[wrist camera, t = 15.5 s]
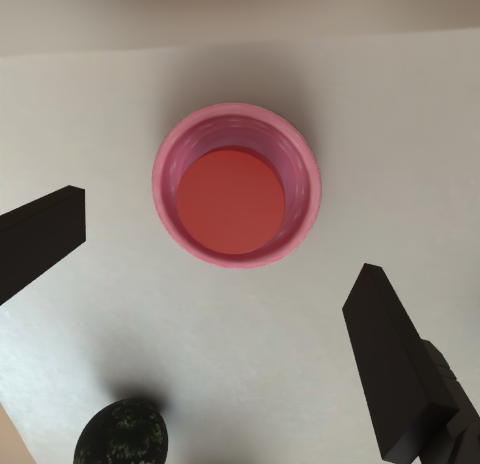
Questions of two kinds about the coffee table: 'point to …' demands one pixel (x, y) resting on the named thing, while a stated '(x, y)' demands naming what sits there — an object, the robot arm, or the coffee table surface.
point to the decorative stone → (124, 436)
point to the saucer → (254, 137)
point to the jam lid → (231, 199)
